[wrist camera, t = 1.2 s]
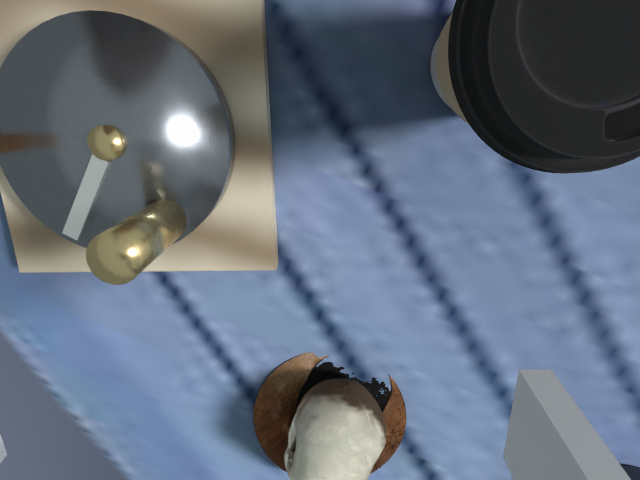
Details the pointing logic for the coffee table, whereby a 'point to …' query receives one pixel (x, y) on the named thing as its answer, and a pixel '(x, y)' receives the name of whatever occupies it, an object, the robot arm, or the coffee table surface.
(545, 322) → the coffee table surface
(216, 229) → the base plate
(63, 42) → the turntable
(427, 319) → the coffee table surface
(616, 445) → the coffee table surface
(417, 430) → the coffee table surface
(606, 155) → the coffee cup
